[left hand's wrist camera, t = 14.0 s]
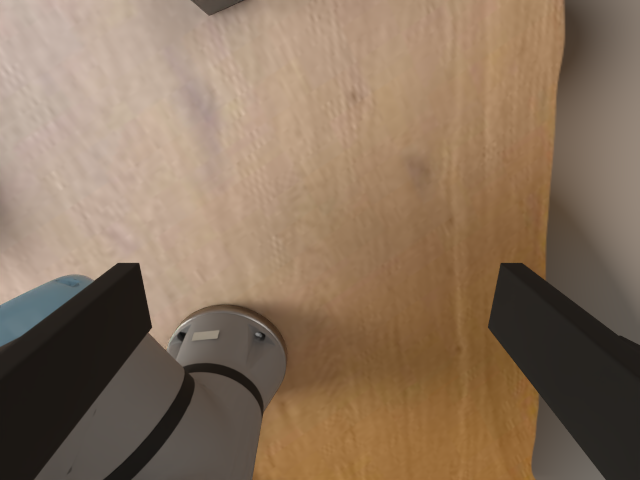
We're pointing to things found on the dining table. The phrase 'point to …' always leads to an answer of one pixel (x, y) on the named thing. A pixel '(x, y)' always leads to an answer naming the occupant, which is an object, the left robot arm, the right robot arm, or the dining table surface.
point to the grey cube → (214, 5)
